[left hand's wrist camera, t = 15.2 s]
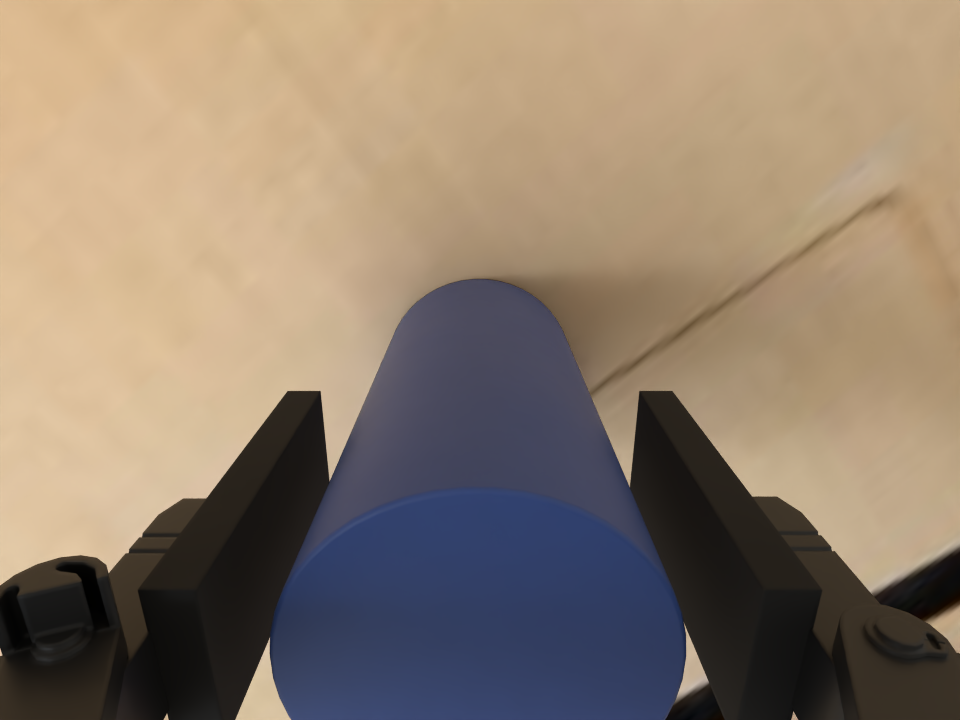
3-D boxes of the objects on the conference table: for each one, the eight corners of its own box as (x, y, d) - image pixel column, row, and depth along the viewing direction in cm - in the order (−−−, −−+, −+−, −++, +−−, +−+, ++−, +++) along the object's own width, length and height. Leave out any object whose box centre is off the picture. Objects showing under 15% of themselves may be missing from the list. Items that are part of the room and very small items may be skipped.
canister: (453, 241, 18) (410, 405, 7) (606, 344, 19) (777, 626, 8) (355, 389, 20) (196, 711, 9) (501, 477, 21) (526, 859, 10)
